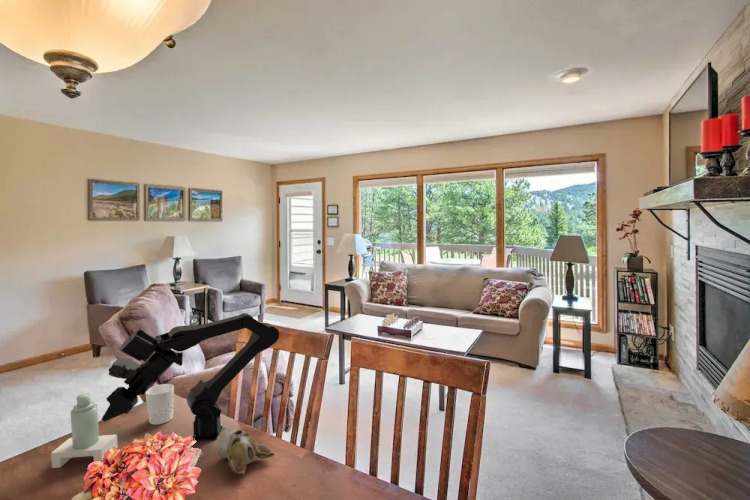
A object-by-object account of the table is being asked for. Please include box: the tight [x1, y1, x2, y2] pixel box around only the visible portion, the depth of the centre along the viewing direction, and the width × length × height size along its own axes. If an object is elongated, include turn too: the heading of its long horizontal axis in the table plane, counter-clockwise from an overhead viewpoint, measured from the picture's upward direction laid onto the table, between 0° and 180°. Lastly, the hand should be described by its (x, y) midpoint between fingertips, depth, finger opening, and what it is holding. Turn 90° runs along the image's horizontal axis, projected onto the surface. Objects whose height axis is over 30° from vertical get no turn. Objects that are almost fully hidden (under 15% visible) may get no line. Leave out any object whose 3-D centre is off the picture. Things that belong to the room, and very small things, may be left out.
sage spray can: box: [70, 393, 100, 449], centre depth 99 cm, size 6×6×13 cm
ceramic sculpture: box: [216, 427, 275, 477], centre depth 97 cm, size 11×9×15 cm
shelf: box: [50, 434, 119, 469], centre depth 100 cm, size 12×7×4 cm, turn 96°
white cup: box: [144, 383, 175, 426], centre depth 119 cm, size 8×8×10 cm
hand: (111, 411), depth 101 cm, fingers open, 9 cm apart
